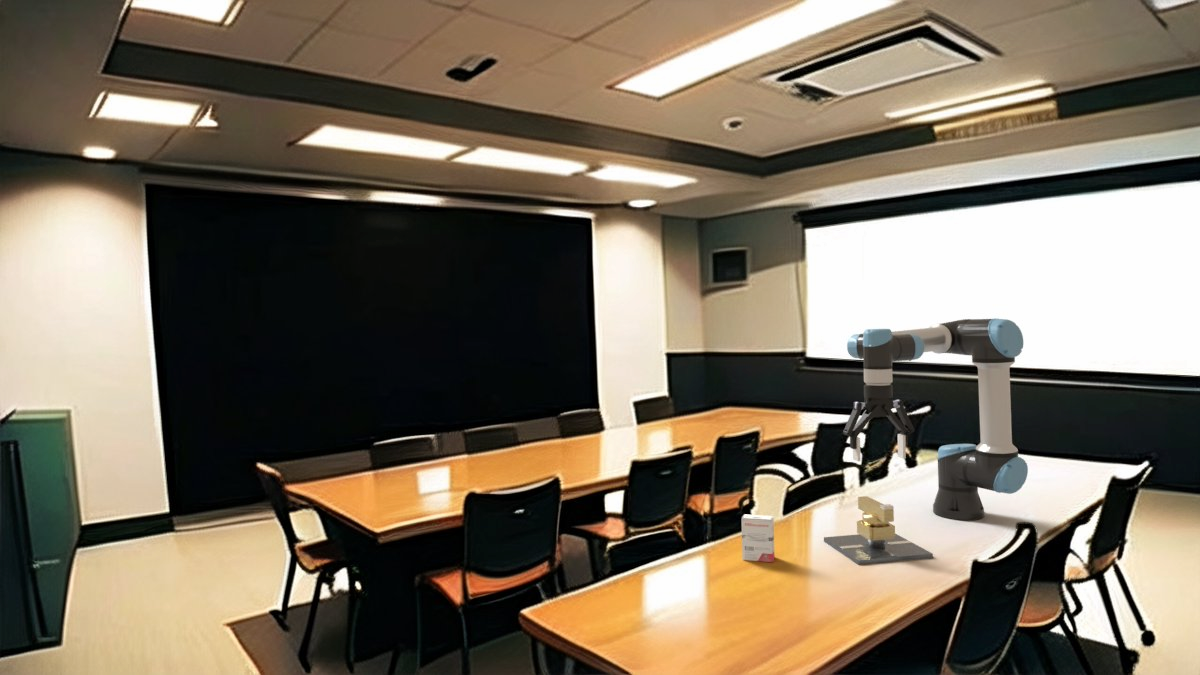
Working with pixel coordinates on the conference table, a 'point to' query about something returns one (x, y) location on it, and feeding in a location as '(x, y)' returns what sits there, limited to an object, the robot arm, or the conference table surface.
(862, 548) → the plate
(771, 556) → the ink box
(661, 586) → the conference table surface
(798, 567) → the conference table surface
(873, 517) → the collar
